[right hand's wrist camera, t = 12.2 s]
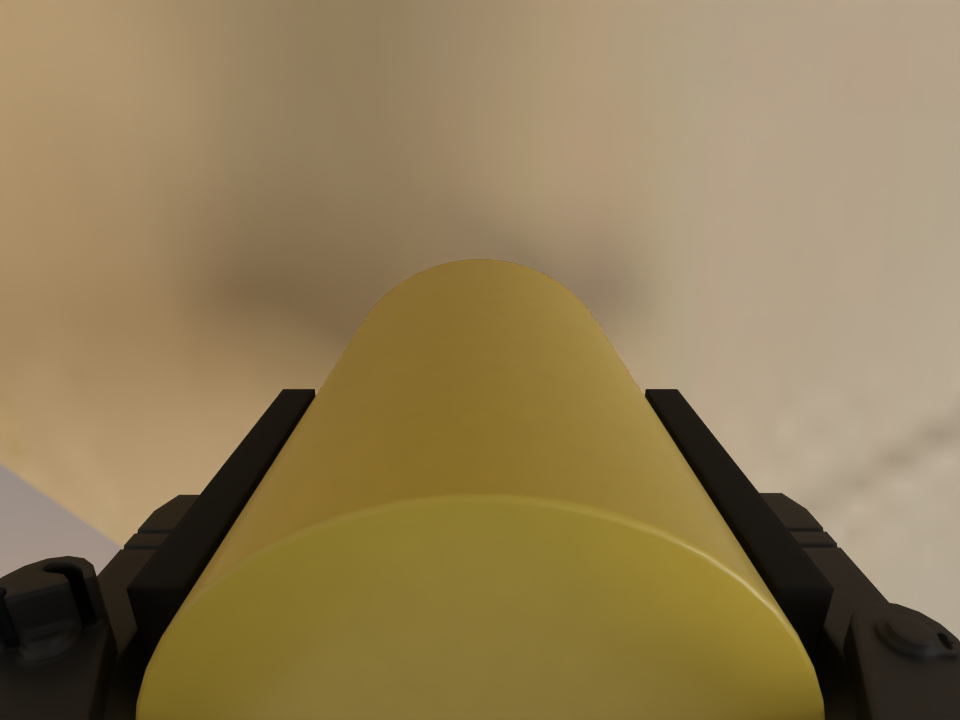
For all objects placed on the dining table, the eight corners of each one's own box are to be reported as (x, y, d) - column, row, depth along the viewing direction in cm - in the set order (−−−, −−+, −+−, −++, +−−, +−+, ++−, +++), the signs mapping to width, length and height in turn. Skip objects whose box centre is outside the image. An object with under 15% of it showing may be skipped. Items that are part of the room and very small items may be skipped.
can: (611, 495, 18) (784, 962, 8) (367, 509, 19) (222, 983, 8) (615, 248, 16) (891, 471, 5) (326, 268, 16) (26, 522, 5)
